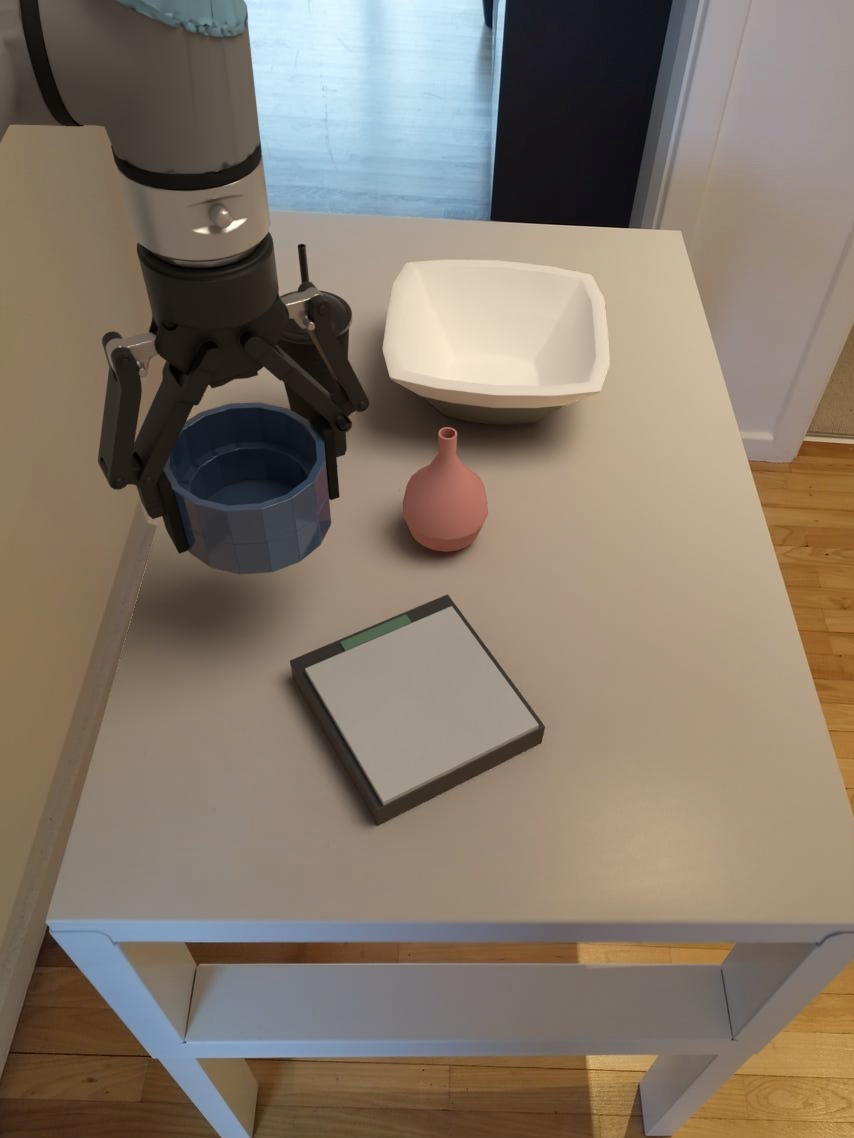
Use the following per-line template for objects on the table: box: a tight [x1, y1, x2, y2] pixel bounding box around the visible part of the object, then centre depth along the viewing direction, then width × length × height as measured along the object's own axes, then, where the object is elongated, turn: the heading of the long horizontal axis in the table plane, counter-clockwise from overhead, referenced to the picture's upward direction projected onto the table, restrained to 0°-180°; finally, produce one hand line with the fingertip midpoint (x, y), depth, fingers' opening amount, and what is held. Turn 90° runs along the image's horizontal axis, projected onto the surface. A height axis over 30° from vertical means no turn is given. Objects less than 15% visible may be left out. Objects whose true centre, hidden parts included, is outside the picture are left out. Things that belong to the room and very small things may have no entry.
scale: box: [289, 594, 546, 826], centre depth 71 cm, size 15×14×3 cm
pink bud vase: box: [402, 426, 489, 553], centre depth 79 cm, size 8×8×12 cm
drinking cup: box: [277, 243, 353, 421], centre depth 84 cm, size 8×8×20 cm
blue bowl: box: [163, 401, 332, 576], centre depth 66 cm, size 11×11×7 cm
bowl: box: [382, 258, 611, 425], centre depth 94 cm, size 22×23×8 cm
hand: (254, 513), depth 68 cm, fingers closed on blue bowl, 11 cm apart
